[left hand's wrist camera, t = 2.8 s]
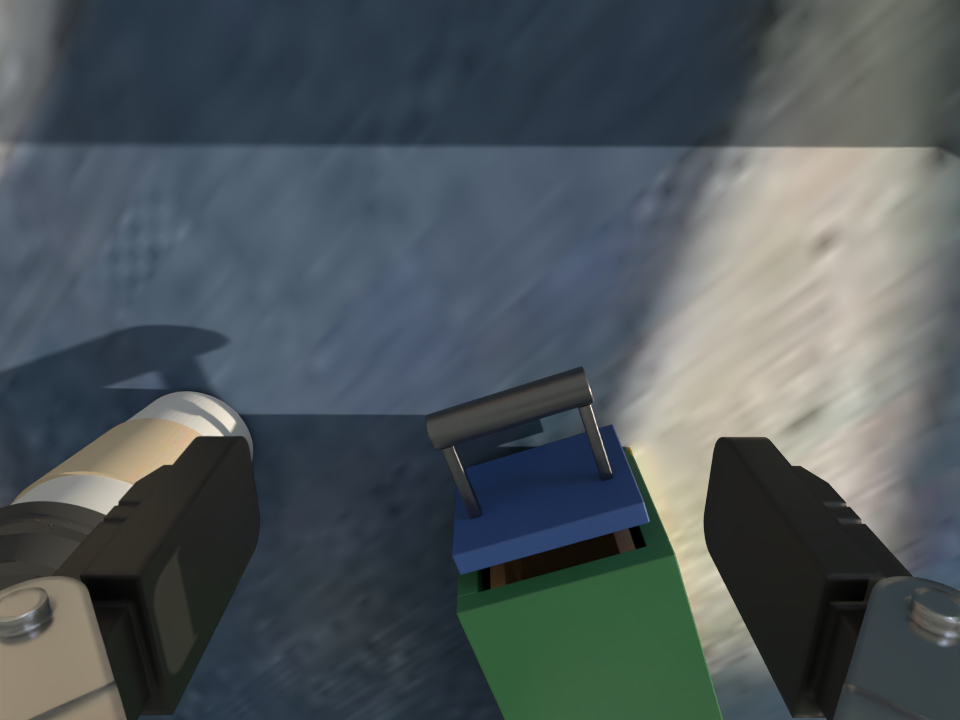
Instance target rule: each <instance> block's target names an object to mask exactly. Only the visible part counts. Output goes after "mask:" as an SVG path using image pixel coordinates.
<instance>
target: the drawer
mask: <svg viewBox="0 0 960 720" xmlns="http://www.w3.org/2000/svg"><path fill="white" fill-rule="evenodd" d="M593 402H594V398H593V395H592V391H591V388H590V385H589V382H588V379H587V376H586V373H585V370H584V368H583V367H578V368H575V369H572V370H568V371H565V372H562V373H559V374H556V375H552V376H549V377H546V378H543V379H540V380H536V381H533V382H530V383H527V384H524V385H520V386H517V387H514V388H511V389H508V390H504V391H501V392H498V393H495V394H492V395H488V396H485V397H482V398H479V399H476V400H472V401H469V402H466V403H463V404H460V405H456V406H453V407H450V408H447V409H444V410H441V411H437V412H434V413H431V414H428V415H427V416H426V428H427V432H428V436H429V438H430V441H431V443H432V445H433V446H434V448H435V449H436V450H439V449H442V451H443V454H444V456H445V459H446V461H447V463H448V466H449V468H450V471H451V473H452V475H453V478H454V480H455V483H456V485H457V487H456V502H455V517H454V532H453V547H452V558H453V560H454V563H455V565H456V567H457V569H458V572H459V574H460V575H462V574H466V573H469V572H473V571H477V570H480V569H484V568H487V567H490V585H491V589H493V588H496V587H500V586H504V585H507V584H511V583H515V582H518V581H522V580H526V579H529V578H533V577H536V576H540V575H544V574H547V573H551V572H555V571H558V570H562V569H566V568H569V567H573V566H577V565H580V564H584V563H588V562H591V561H595V560H598V559H602V558H606V557H609V556H613V555H617V554H620V553H624V552H628V551H631V550H635V549H636V548H635V545H634V543H633V540H632V537H631V534H630V531H629V528H631V527H634V526H638V525H642V524H645V523H648V522H649V517H648V513H647V510H646V507H645V503H644V501H643V498H642V496H641V493H640V491H639V488H638V486H637V483H636V481H635V478H634V476H633V473H632V471H631V468H630V466H629V463H628V461H627V458H626V456H625V454H624V451H623V449H622V446H621V444H620V441H619V439H618V436H617V434H616V431H615V429H614V426H613V425H608V426H605V427H602V428H598V426H597V423H596V420H595V417H594V413H593V410H592V407H591V404H590V403H593ZM577 407H578V409H579V412H580V415H581V418H582V421H583V424H584V427H585V431H586V432H585V433H582V434H578V435H575V436H572V437H568V438H565V439H562V440H558V441H555V442H552V443H548V444H545V445H542V446H538V447H535V448H532V449H528V450H525V451H522V452H518V453H515V454H512V455H508V456H505V457H502V458H498V459H495V460H492V461H488V462H485V463H482V464H478V465H475V466H472V467H468V468H465V467H464V465H463V462H462V460H461V457H460V455H459V452H458V450H457V447H456V444H459V443H462V442H466V441H469V440H472V439H475V438H479V437H482V436H485V435H488V434H492V433H495V432H498V431H502V430H505V429H508V428H511V427H515V426H518V425H521V424H525V423H528V422H531V421H534V420H538V419H541V418H544V417H547V416H551V415H554V414H557V413H561V412H564V411H567V410H570V409H574V408H577Z"/></svg>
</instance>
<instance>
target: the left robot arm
mask: <svg viewBox="0 0 960 720" xmlns="http://www.w3.org/2000/svg"><path fill="white" fill-rule="evenodd" d="M259 527H260V516H259V508H258V501H257V494H256V487H255V481H254V474H253V467H252V460H251V454H250V448H249V444H248V442H247V440H246V438H245V437H243V436H198V437H196V438H195V439H194V440H193V441H192V442H191V443H190V444H189V446H188V447H187V448H186V449H185V450H184V452H183V453H182V454H181V455H180V456H179V458H178V459H177V460H176V461H175V462H174V463H173V465H163V466H161V467H159V468H158V469H156V470H155V471H153V472H151V473H150V474H148V475H146V476H145V477H143V478H141V479H140V480H138V481H137V482H135V484H134V485H133V486H132V487H131V488H130V489H129V490H128V491H127V492H126V494H125V495H124V496H123V497H122V498H121V499H120V500H119V501H118V505H115V506H114V507H113V508H112V509H111V510H110V511H109V512H108V514H107V515H106V516H105V517H104V520H103V522H99V524H98V525H97V526H96V527H95V528H94V529H93V530H92V531H91V533H90V534H89V535H88V536H87V537H86V538H85V539H84V540H83V541H82V543H81V544H80V545H79V546H78V547H77V548H76V549H75V550H74V551H73V553H72V554H71V555H70V556H69V557H68V558H67V559H66V560H65V561H64V563H63V564H62V565H61V566H60V567H59V568H58V569H57V570H56V571H55V573H54V574H53V575H52V576H50V577H42V578H37V579H32V580H28V581H25V582H21V583H18V584H16V585H13V586H10V587H8V588H6V589H4V590H1V591H0V720H137V719H138V717H139V715H173V713H174V711H175V709H176V707H177V705H178V703H179V701H180V699H181V697H182V695H183V693H184V691H185V689H186V687H187V685H188V683H189V681H190V679H191V677H192V675H193V673H194V671H195V669H196V667H197V665H198V663H199V661H200V659H201V657H202V655H203V653H204V651H205V649H206V647H207V645H208V643H209V641H210V639H211V637H212V635H213V633H214V631H215V629H216V627H217V625H218V623H219V621H220V619H221V617H222V615H223V613H224V611H225V609H226V607H227V605H228V603H229V601H230V599H231V597H232V595H233V593H234V591H235V589H236V587H237V585H238V583H239V581H240V579H241V577H242V575H243V573H244V571H245V569H246V567H247V565H248V563H249V561H250V559H251V557H252V555H253V553H254V551H255V548H256V545H257V541H258V536H259ZM704 534H705V540H706V545H707V548H708V551H709V553H710V555H711V557H712V559H713V561H714V563H715V565H716V567H717V569H718V571H719V573H720V575H721V577H722V579H723V581H724V583H725V585H726V587H727V589H728V591H729V593H730V595H731V597H732V599H733V601H734V603H735V605H736V607H737V609H738V611H739V613H740V615H741V617H742V619H743V621H744V623H745V624H746V626H747V628H748V630H749V632H750V634H751V636H752V638H753V640H754V642H755V644H756V646H757V648H758V650H759V652H760V654H761V656H762V658H763V660H764V662H765V664H766V666H767V668H768V670H769V672H770V674H771V676H772V678H773V680H774V682H775V684H776V686H777V688H778V690H779V692H780V694H781V696H782V698H783V700H784V702H785V704H786V706H787V708H788V710H789V712H790V714H791V716H792V718H826V719H827V720H960V591H959V590H956V589H954V588H952V587H950V586H947V585H944V584H942V583H939V582H935V581H932V580H928V579H923V578H918V577H913V576H912V575H911V574H910V573H909V572H908V571H907V569H906V568H905V567H904V566H903V565H902V564H901V563H900V562H899V561H898V560H897V558H896V557H895V556H894V555H893V554H892V553H891V552H890V551H889V550H888V548H887V547H886V546H885V545H884V544H883V543H882V542H881V541H880V540H879V539H878V537H877V536H876V535H875V534H874V533H873V532H872V531H871V530H870V529H869V528H868V526H867V525H866V524H862V523H861V519H860V518H859V516H858V515H857V514H856V513H855V512H854V511H853V510H852V509H851V508H850V507H847V506H846V502H845V501H844V500H843V499H842V498H841V497H840V496H839V494H838V493H837V492H836V491H835V490H834V489H833V488H832V487H831V486H830V484H829V483H827V482H826V481H824V480H822V479H821V478H819V477H817V476H816V475H814V474H813V473H811V472H809V471H808V470H806V469H804V468H803V467H801V466H791V464H790V463H789V462H788V461H787V460H786V459H785V457H784V456H783V455H782V454H781V453H780V451H779V450H778V449H777V448H776V447H775V446H774V444H773V443H772V442H771V441H770V440H769V439H768V438H766V437H721V438H719V439H718V440H717V442H716V444H715V447H714V452H713V458H712V465H711V472H710V478H709V485H708V491H707V498H706V505H705V511H704Z"/></svg>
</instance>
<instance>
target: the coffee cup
mask: <svg viewBox="0 0 960 720" xmlns="http://www.w3.org/2000/svg"><path fill="white" fill-rule="evenodd" d="M198 436H243V437H245V438H246V440H247V442H248V444H249V448H250V454H251V460H252V459H253V443H252V439H251V435H250V432H249V430H248V428H247V426H246V424H245V423H244V421H243V420H242V418H241V417H240V416H239V415H238V414H237V413H236V412H235V411H234V410H233V409H232V408H231V407H230V406H228V405H227V404H225V403H224V402H222V401H221V400H219V399H217V398H215V397H212V396H210V395H207V394H203V393H198V392H190V391H182V392H175V393H170V394H167V395H165V396H162V397H160V398H158V399H157V400H155V401H154V402H152V403H151V404H150V405H148V406H147V407H146V408H144V409H143V410H141V411H140V412H139V413H137V414H136V415H134V416H133V417H132V418H130V419H129V420H127V421H126V422H124V423H122V424H119V425H117V426H115V427H114V428H112V429H110V430H109V431H108V432H106V433H105V434H103V435H102V436H100V437H99V438H98V439H96V440H95V441H93V442H92V443H90V444H89V445H87V446H86V447H85V448H83V449H82V450H80V451H79V452H77V453H76V454H75V455H73V456H72V457H70V458H69V459H67V460H66V461H65V462H63V463H62V464H60V465H59V466H57V467H56V468H54V469H53V470H52V471H50V472H49V473H47V474H46V475H44V476H43V477H42V478H40V479H39V480H37V481H36V482H34V483H33V484H31V485H30V486H29V487H27V488H26V489H25V490H23V491H22V492H21V493H20V494H19V495H18V496H17V497H16V499H15V500H14V501H13V503H12V504H11V505H9V506H6V507H3V508H0V591H1V590H4V589H6V588H8V587H10V586H13V585H16V584H18V583H21V582H25V581H28V580H32V579H37V578H42V577H50V576H52V575H53V574H54V573H55V571H56V570H57V569H58V568H59V567H60V566H61V565H62V564H63V563H64V561H65V560H66V559H67V558H68V557H69V556H70V555H71V554H72V553H73V551H74V550H75V549H76V548H77V547H78V546H79V545H80V544H81V543H82V541H83V540H84V539H85V538H86V537H87V536H88V535H89V534H90V533H91V531H92V530H93V529H94V528H95V527H96V526H97V525H98V524H99V522H103V520H104V517H105V516H106V515H107V514H108V512H109V511H110V510H111V509H112V508H113V507H114V506H115V505H118V501H119V500H120V499H121V498H122V497H123V496H124V495H125V494H126V492H127V491H128V490H129V489H130V488H131V487H132V486H133V485H134V484H135V482H137V481H138V480H140V479H141V478H143V477H145V476H146V475H148V474H150V473H151V472H153V471H155V470H156V469H158V468H159V467H161V466H163V465H173V463H174V462H175V461H176V460H177V459H178V458H179V456H180V455H181V454H182V453H183V452H184V450H185V449H186V448H187V447H188V446H189V444H190V443H191V442H192V441H193V440H194V439H195V438H196V437H198Z"/></svg>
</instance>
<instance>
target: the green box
mask: <svg viewBox="0 0 960 720" xmlns="http://www.w3.org/2000/svg"><path fill="white" fill-rule="evenodd" d="M623 451H624V454H625V456H626V458H627V461H628V463H629V466H630V468H631V471H632V473H633V476H634V478H635V481H636V483H637V486H638V488H639V491H640V493H641V496H642V498H643V501H644V503H645V507H646V510H647V513H648V517H649V522H648V523H645V524H642V525H638V526H634V527H631V528H629V531H630V534H631V537H632V540H633V543H634V545H635V548H636V549H635V550H631V551H628V552H624V553H620V554H617V555H613V556H609V557H606V558H602V559H598V560H595V561H591V562H588V563H584V564H580V565H577V566H573V567H569V568H566V569H562V570H558V571H555V572H551V573H547V574H544V575H540V576H536V577H533V578H529V579H526V580H522V581H518V582H515V583H511V584H507V585H504V586H500V587H496V588H493V589H491V585H490V567H487V568H484V569H480V570H477V571H473V572H469V573H466V574H462V575H460V574H459V572H458V591H457V610H456V615H457V617H458V619H459V621H460V623H461V625H462V628H463V630H464V632H465V634H466V636H467V639H468V641H469V643H470V645H471V647H472V650H473V652H474V654H475V656H476V658H477V661H478V663H479V665H480V667H481V669H482V671H483V674H484V676H485V678H486V680H487V682H488V685H489V687H490V689H491V691H492V693H493V696H494V698H495V700H496V702H497V704H498V706H499V709H500V711H501V713H502V715H503V717H504V720H723V718H722V715H721V711H720V708H719V705H718V701H717V698H716V694H715V691H714V687H713V684H712V680H711V677H710V673H709V670H708V666H707V663H706V659H705V656H704V652H703V649H702V646H701V642H700V639H699V635H698V632H697V628H696V625H695V621H694V618H693V614H692V611H691V607H690V604H689V600H688V597H687V593H686V590H685V586H684V583H683V580H682V576H681V573H680V569H679V566H678V562H677V559H676V555H675V553H674V550H673V548H672V546H671V543H670V541H669V538H668V536H667V534H666V531H665V529H664V527H663V524H662V522H661V520H660V517H659V515H658V513H657V510H656V508H655V506H654V503H653V501H652V498H651V496H650V494H649V491H648V489H647V487H646V484H645V482H644V480H643V477H642V475H641V473H640V470H639V468H638V466H637V463H636V461H635V459H634V456H633V453H632V451H631V448H630V447H628V448H627V449H624V450H623Z"/></svg>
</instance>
